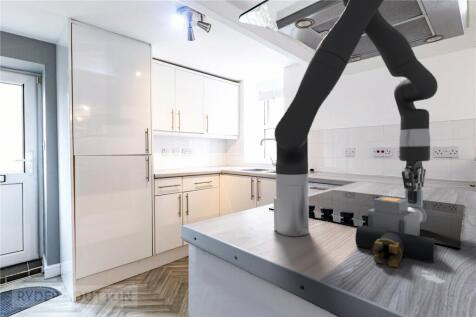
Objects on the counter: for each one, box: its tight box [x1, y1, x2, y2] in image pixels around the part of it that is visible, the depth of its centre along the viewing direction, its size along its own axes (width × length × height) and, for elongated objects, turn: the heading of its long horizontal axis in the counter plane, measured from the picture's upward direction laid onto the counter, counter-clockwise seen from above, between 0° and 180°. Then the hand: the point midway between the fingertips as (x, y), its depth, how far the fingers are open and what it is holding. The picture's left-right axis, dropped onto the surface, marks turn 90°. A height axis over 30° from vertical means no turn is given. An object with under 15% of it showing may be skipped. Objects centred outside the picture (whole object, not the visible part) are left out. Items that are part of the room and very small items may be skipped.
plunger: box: [380, 196, 402, 202], centre depth 64 cm, size 4×4×3 cm
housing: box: [367, 195, 421, 236], centre depth 66 cm, size 8×12×11 cm
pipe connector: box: [354, 225, 435, 268], centre depth 56 cm, size 12×5×15 cm
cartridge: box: [404, 188, 427, 225], centre depth 72 cm, size 6×12×11 cm, turn 129°
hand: (413, 202), depth 75 cm, fingers open, 2 cm apart
